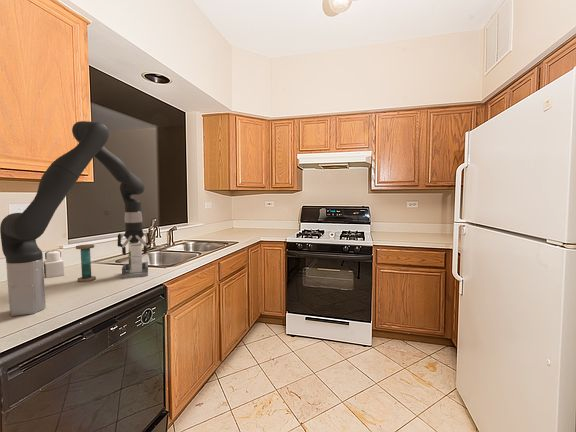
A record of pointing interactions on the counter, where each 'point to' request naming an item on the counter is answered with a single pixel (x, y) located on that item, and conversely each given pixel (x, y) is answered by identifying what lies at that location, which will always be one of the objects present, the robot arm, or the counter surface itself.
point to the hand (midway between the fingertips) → (134, 254)
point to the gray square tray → (131, 275)
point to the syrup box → (135, 257)
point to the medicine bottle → (53, 264)
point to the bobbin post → (86, 263)
